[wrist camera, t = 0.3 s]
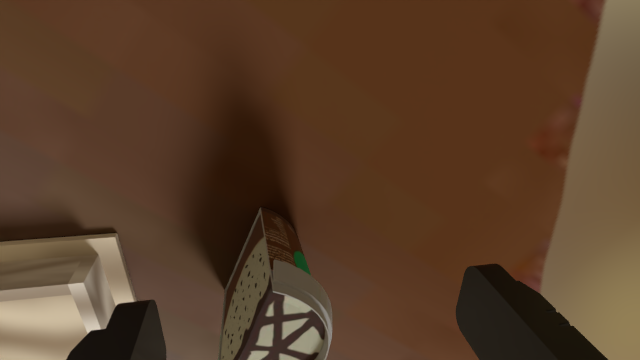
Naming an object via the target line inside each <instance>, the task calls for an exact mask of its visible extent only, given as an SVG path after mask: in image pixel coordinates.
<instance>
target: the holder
mask: <svg viewBox="0 0 640 360" xmlns="http://www.w3.org/2000/svg"><path fill="white" fill-rule="evenodd" d="M136 301H137V300H136V297H135V293H134V290H133V286H132V283H131V279H130V276H129V273H128V269H127V266H126V262H125V259H124V255H123V252H122V249H121V245H120V242H119V238H118V235H117V233H111V234H97V235H84V236H71V237H57V238H44V239H31V240H17V241H4V242H0V360H66V359H67V357H68V355H69V353H70V352H71V351H72V349H73V348H74V347H75V346H76V345H77V344H78V343H79V342H80V341H81V340H82V339H83V338H84V337H85V336H86V335H87V334H88V333H89V332H90V331H91V330H100V329H106V327H107V324H108V322H109V320H110V318H111V315H112V313H113V311H114V309H115V307H116V305H118V304H119V303H127V302H136Z"/></svg>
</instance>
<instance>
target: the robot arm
mask: <svg viewBox="0 0 640 360" xmlns="http://www.w3.org/2000/svg"><path fill="white" fill-rule="evenodd" d="M456 319H457V323H458V326H459V328H460V331H461V332H462V334H463V335H464V337H465V338H466V340H467V341H468V343H469V344H470V346H471V347H472V349H473V350H474V352H475V353H476V355H477V357H478V358H479V360H608V359H607V358H606V357H605V356H604V355H603V354H602V353H601V352H599V351H598V350H597V349H596V348H595V347H594V346H593V345H592V344H591V343H590V342H589V341H588V340H587V339H586V338H585V337H584V336H583V335H582V334H581V333H580V332H579V331H578V330H577V329H576V328H575V327H574V326H570V324H569V322H568V321H567V320H566V319H565V318H564V317H563V316H562V315H561V314H560V313H557V312H556V309H555V308H554V307H553V306H552V305H551V304H550V303H549V302H548V301H547V300H546V299H545V298H544V297H543V296H542V295H541V294H540V293H538V292H536V291H535V290H533V289H532V288H530V287H528V286H527V285H525V284H523V283H522V282H520V281H515V280H514V279H513V278H512V277H511V276H510V275H509V274H508V273H507V272H506V271H505V269H504V268H502V267H501V266H500V265H498V264H487V265H478V266H470V267H468V268H467V269H466V271H465V273H464V277H463V282H462V286H461V290H460V294H459V298H458V302H457V306H456ZM66 360H166V346H165V341H164V336H163V332H162V327H161V323H160V318H159V314H158V309H157V305H156V302H155V301H154V300H145V301H136V302H127V303H119V304H118V305H116V307H115V309H114V311H113V313H112V315H111V318H110V320H109V322H108V324H107V327H106V329H100V330H91V331H90V332H89V333H88V334H87V335H86V336H85V337H84V338H83V339H82V340H81V341H80V342H79V343H78V344H77V345H76V346H75V347H74V348H73V349H72V351H71V352H70V353H69V355H68V357H67V359H66Z"/></svg>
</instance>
